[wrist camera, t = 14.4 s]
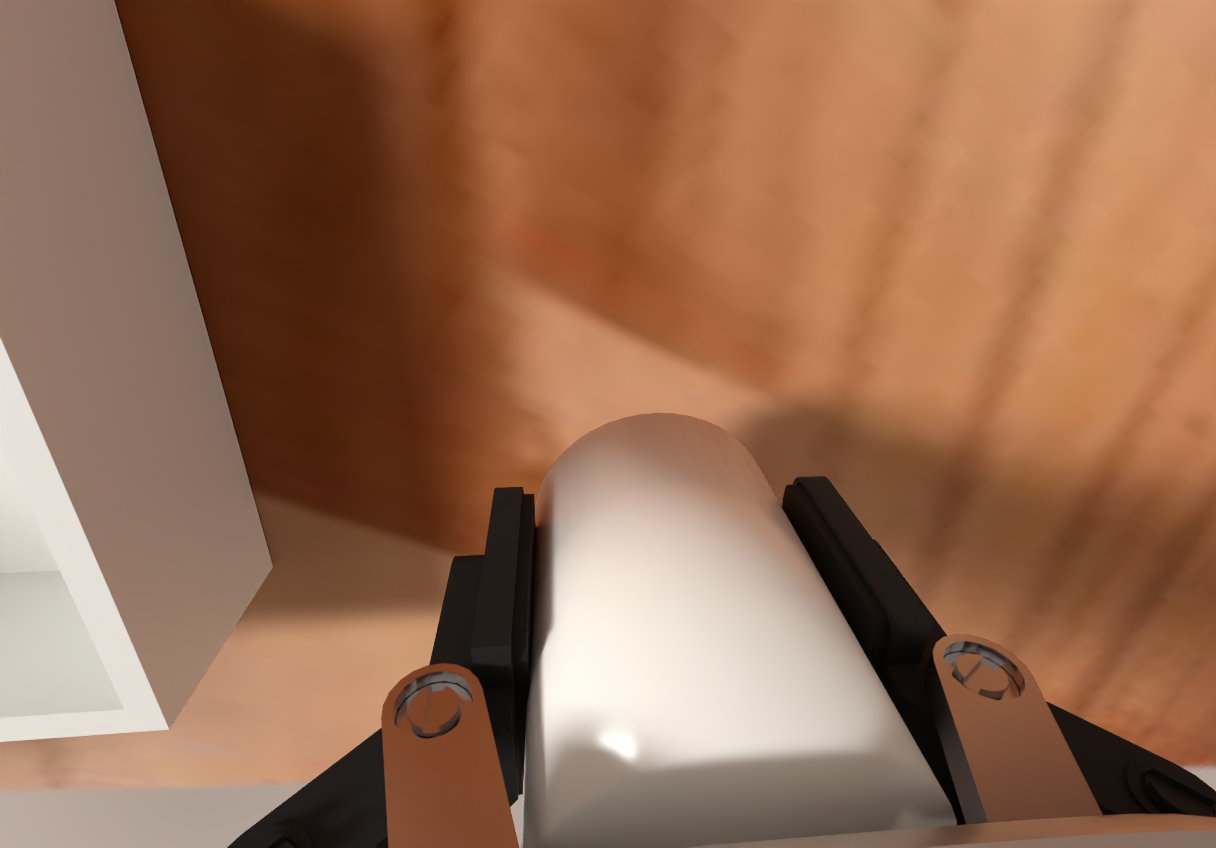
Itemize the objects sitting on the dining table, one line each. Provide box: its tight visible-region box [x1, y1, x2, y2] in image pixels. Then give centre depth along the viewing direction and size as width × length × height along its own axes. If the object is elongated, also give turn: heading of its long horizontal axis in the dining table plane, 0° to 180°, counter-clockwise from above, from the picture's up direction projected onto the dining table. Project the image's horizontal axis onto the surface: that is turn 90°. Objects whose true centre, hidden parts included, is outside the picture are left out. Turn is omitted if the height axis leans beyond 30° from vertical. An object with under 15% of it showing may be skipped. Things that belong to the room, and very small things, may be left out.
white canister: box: [521, 413, 957, 848], centre depth 10 cm, size 5×5×7 cm
